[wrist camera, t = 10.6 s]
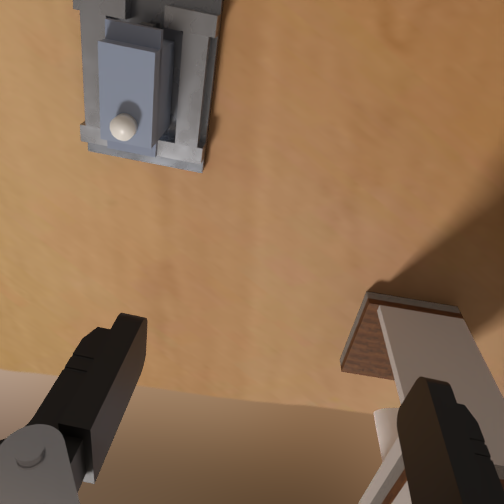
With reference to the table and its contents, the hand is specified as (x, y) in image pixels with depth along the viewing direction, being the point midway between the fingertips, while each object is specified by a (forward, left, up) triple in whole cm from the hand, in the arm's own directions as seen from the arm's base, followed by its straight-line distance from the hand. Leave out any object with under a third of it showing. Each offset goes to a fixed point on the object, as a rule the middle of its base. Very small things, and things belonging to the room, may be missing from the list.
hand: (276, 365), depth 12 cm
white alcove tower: (-19, +24, -30) cm, 43 cm away
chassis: (+12, 0, -30) cm, 32 cm away
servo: (+12, 0, -29) cm, 31 cm away
